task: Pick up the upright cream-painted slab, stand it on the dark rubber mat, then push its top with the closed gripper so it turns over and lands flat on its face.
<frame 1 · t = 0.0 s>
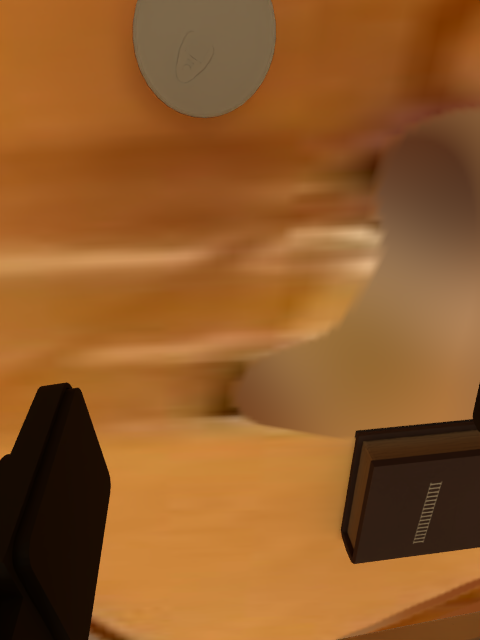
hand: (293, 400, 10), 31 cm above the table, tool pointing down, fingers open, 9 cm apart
book: (443, 472, 62), on the table
canned food: (196, 47, 33), on the table
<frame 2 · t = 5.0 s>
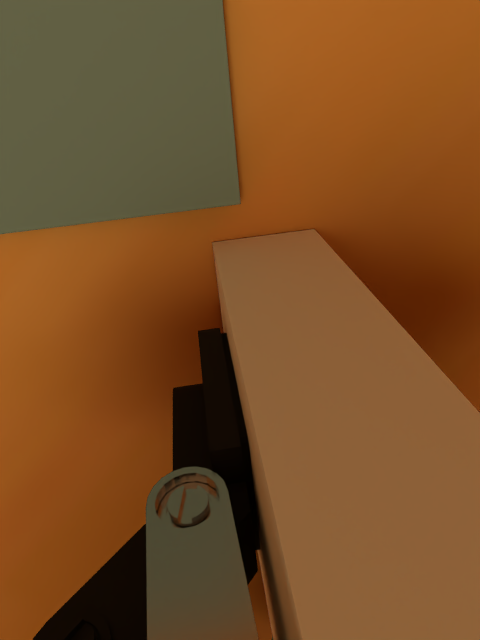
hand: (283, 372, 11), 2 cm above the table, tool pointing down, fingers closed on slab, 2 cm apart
slab: (270, 336, 13), on the table, touching gripper
when the fingers open (3 cm above the table, at t = 9.9 s): slab stays where it is, resting on mat.
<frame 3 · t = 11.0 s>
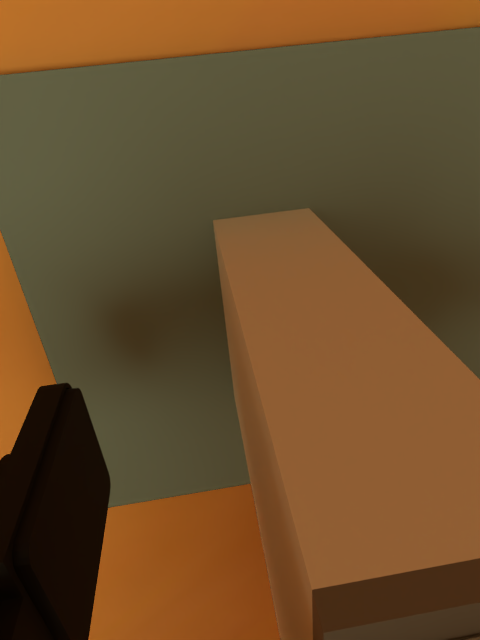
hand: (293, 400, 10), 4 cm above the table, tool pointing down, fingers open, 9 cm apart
mat: (324, 304, 14), on the table
slab: (267, 312, 13), resting on mat
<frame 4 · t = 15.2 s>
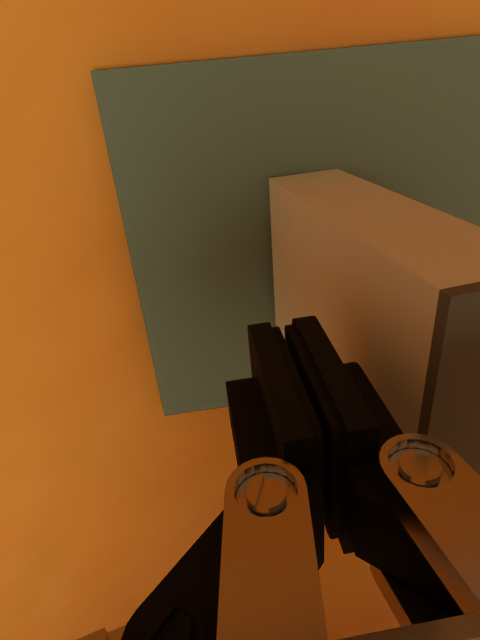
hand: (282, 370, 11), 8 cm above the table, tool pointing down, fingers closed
mat: (345, 247, 18), on the table
slab: (304, 252, 17), point 1 cm above the table, tilted 6°, touching gripper, mat
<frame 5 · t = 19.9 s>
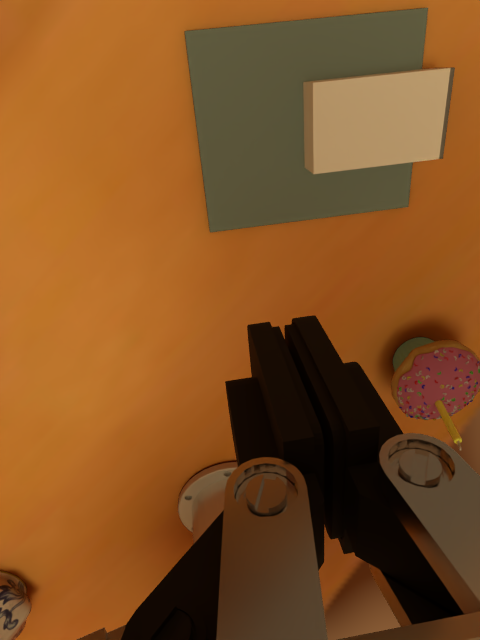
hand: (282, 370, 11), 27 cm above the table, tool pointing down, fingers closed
mat: (308, 128, 34), on the table
slab: (308, 128, 33), point 2 cm above the table, tilted 90°, touching mat
cupcake: (413, 353, 47), on the table
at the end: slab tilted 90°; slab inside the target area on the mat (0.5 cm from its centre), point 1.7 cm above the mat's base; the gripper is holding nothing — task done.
